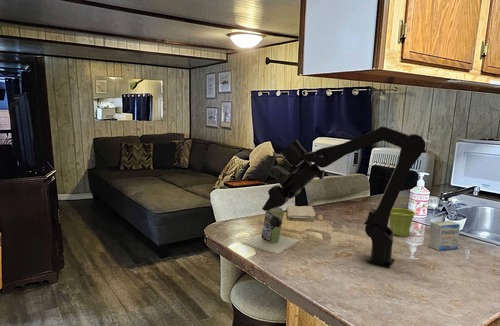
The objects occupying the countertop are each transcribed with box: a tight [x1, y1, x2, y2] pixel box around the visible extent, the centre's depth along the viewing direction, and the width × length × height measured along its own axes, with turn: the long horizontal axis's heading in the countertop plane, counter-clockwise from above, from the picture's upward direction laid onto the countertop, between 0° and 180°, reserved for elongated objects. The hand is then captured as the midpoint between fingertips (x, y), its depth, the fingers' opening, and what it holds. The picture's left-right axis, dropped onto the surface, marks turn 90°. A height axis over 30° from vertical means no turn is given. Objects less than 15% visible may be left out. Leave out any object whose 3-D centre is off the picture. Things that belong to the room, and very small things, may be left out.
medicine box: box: [428, 220, 461, 252], centre depth 114 cm, size 8×4×9 cm, turn 105°
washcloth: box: [286, 205, 316, 222], centre depth 150 cm, size 12×18×3 cm, turn 177°
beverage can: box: [261, 206, 284, 243], centre depth 116 cm, size 6×7×12 cm
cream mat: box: [242, 233, 300, 255], centre depth 117 cm, size 14×14×1 cm
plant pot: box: [389, 207, 416, 237], centre depth 127 cm, size 9×9×9 cm
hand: (268, 206), depth 116 cm, fingers open, 9 cm apart
